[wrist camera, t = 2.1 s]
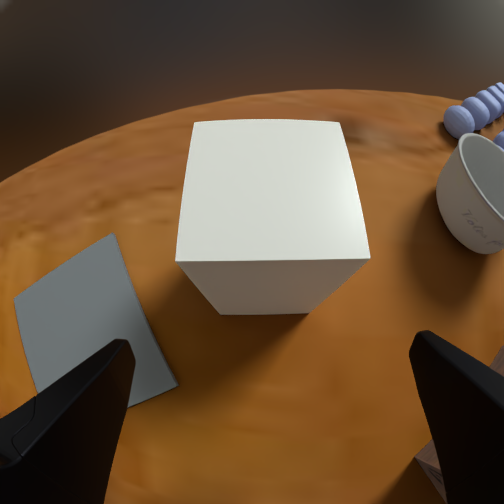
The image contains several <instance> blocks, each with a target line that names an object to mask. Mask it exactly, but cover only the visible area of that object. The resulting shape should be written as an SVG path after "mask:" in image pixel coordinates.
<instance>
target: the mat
mask: <svg viewBox="0 0 504 504" xmlns="http://www.w3.org/2000/svg"><path fill="white" fill-rule="evenodd" d="M14 303H15V309H16V315H17V320H18V325H19V329H20V334H21V338H22V342H23V346H24V350H25V354H26V357H27V361H28V364H29V368H30V371H31V374H32V377H33V380H34V383H35V386H36V389H37V392H38V393H40V392H41V391H43V390H44V389H45V388H47V387H48V386H50V385H51V384H52V383H54V382H55V381H56V380H58V379H59V378H61V377H62V376H63V375H65V374H66V373H68V372H69V371H70V370H72V369H73V368H75V367H76V366H77V365H79V364H80V363H82V362H83V361H84V360H86V359H87V358H89V357H90V356H91V355H93V354H94V353H96V352H97V351H98V350H100V349H101V348H103V347H104V346H105V345H107V344H108V343H110V342H111V341H112V340H114V339H116V338H119V339H126V340H128V341H129V343H130V345H131V348H132V351H133V353H134V356H135V359H136V366H135V371H134V376H133V381H132V387H131V392H130V398H129V403H128V407H130V406H133V405H135V404H138V403H140V402H142V401H145V400H147V399H150V398H152V397H154V396H156V395H159V394H161V393H163V392H166V391H168V390H170V389H172V388H174V387H177V386H179V385H178V383H177V381H176V379H175V377H174V375H173V373H172V371H171V369H170V367H169V365H168V363H167V361H166V359H165V357H164V355H163V353H162V351H161V349H160V347H159V345H158V343H157V341H156V339H155V336H154V334H153V332H152V330H151V328H150V325H149V323H148V321H147V319H146V316H145V314H144V312H143V309H142V307H141V305H140V302H139V300H138V297H137V295H136V292H135V290H134V287H133V284H132V282H131V279H130V277H129V274H128V271H127V268H126V266H125V263H124V260H123V257H122V254H121V251H120V248H119V245H118V242H117V239H116V236H115V234H114V233H111V234H109V235H108V236H106V237H104V238H103V239H101V240H99V241H98V242H96V243H94V244H93V245H91V246H90V247H88V248H86V249H85V250H83V251H82V252H80V253H79V254H77V255H75V256H74V257H72V258H71V259H69V260H68V261H66V262H65V263H63V264H62V265H60V266H59V267H57V268H56V269H54V270H53V271H51V272H50V273H48V274H47V275H46V276H44V277H43V278H41V279H40V280H38V281H37V282H36V283H34V284H33V285H31V286H30V287H29V288H27V289H26V290H25V291H23V292H22V293H21V294H19V295H18V296H17V297H15V298H14ZM128 407H127V408H128Z"/></svg>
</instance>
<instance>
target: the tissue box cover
mask: <svg viewBox="0 0 504 504" xmlns="http://www.w3.org/2000/svg"><path fill="white" fill-rule="evenodd" d="M490 368H491V369H493V370H494V371H496V372H497V373H499V374H501V375H502V376H504V346H502V347H501V349H500V351H499V352H498V354H497V356H496V357H495V359H494V361H493V362H492V364H491V365H490ZM414 457H415V459H416V460H417V462H418V463H419V464H420V466H421V467H422V469H423V470H424V472H425V473H426V475H427V476H428V477H429V479H430V480H431V482H432V483H433V485H434V486H435V488H436V489H437V491H438V492H439V493H440V495H441V496H442V498H443V499H444V501H445V502H446V504H447V499H446V492H445V488H444V483H443V478H442V474H441V469H440V465H439V461H438V457H437V453H436V449H435V446H434V442H433V439H432V440H431V441H430V442H429V443H428V444H427V445H426V446H425V447H424V448H423V449H422V450H421V451H420V452H419V453H418V454H417V455H416V456H414Z"/></svg>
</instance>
